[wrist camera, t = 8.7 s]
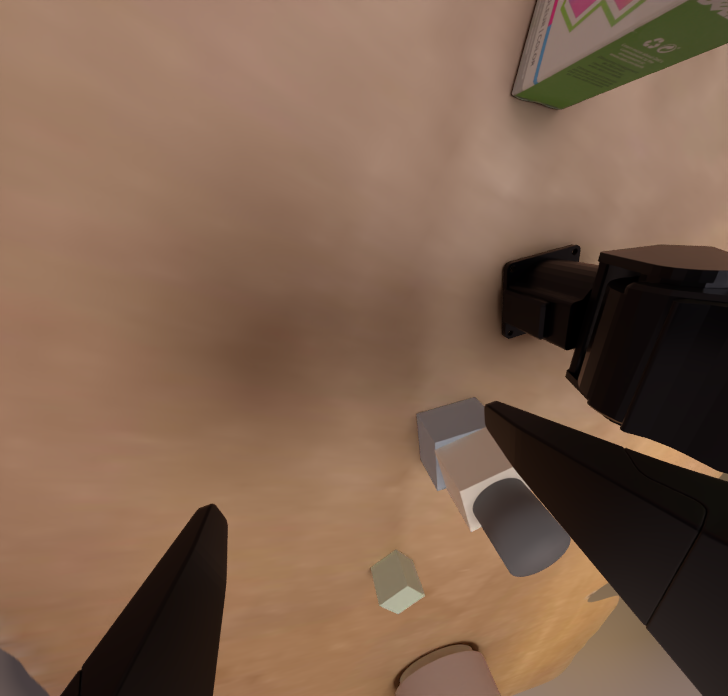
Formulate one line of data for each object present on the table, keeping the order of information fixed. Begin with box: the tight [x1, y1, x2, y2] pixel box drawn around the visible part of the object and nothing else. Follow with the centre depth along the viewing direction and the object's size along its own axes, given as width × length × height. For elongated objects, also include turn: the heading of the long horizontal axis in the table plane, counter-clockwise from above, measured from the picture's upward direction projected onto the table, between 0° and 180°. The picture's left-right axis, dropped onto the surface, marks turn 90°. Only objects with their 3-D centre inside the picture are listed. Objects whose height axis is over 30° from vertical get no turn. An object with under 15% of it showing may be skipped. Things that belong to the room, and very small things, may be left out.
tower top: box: [434, 427, 531, 532], centre depth 23 cm, size 5×5×4 cm
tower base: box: [417, 397, 486, 491], centre depth 27 cm, size 6×6×4 cm
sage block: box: [371, 550, 425, 614], centre depth 34 cm, size 4×4×4 cm
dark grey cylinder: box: [473, 478, 571, 577], centre depth 20 cm, size 4×4×4 cm
